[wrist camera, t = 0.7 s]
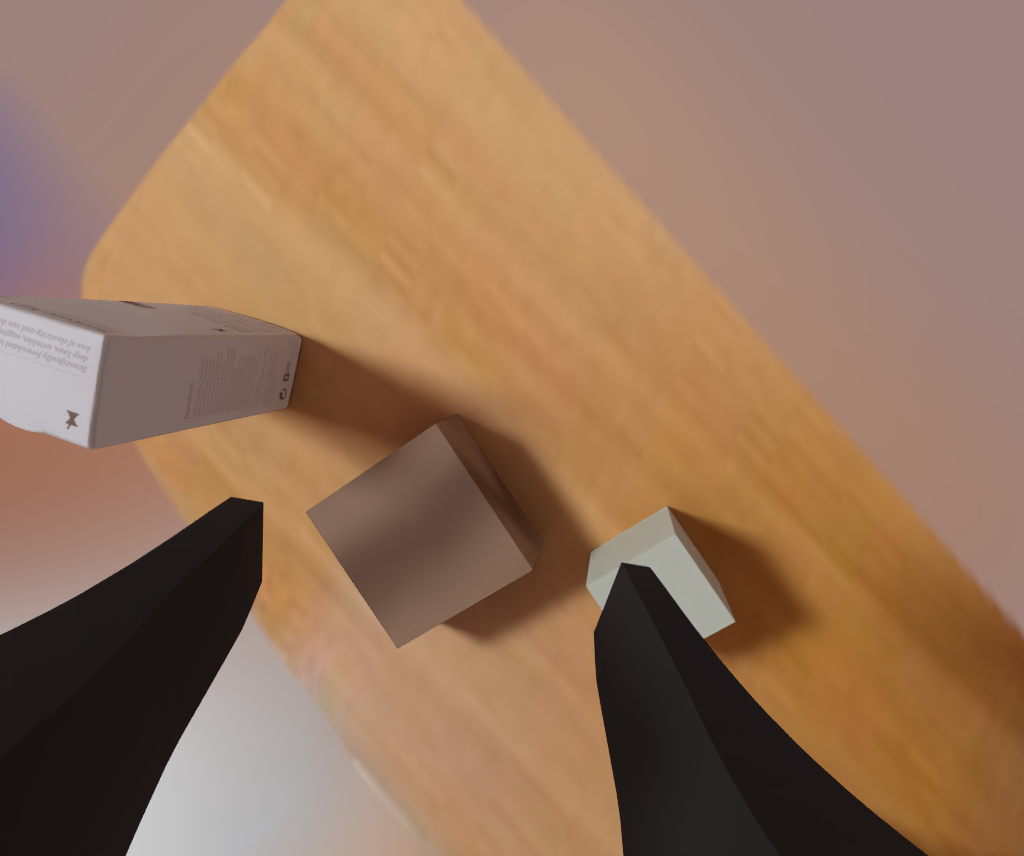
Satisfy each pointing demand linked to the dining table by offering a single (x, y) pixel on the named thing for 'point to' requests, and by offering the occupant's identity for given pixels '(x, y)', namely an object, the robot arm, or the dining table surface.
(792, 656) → the dining table surface
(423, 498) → the walnut block
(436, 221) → the dining table surface
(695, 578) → the sage cube
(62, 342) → the skincare box
